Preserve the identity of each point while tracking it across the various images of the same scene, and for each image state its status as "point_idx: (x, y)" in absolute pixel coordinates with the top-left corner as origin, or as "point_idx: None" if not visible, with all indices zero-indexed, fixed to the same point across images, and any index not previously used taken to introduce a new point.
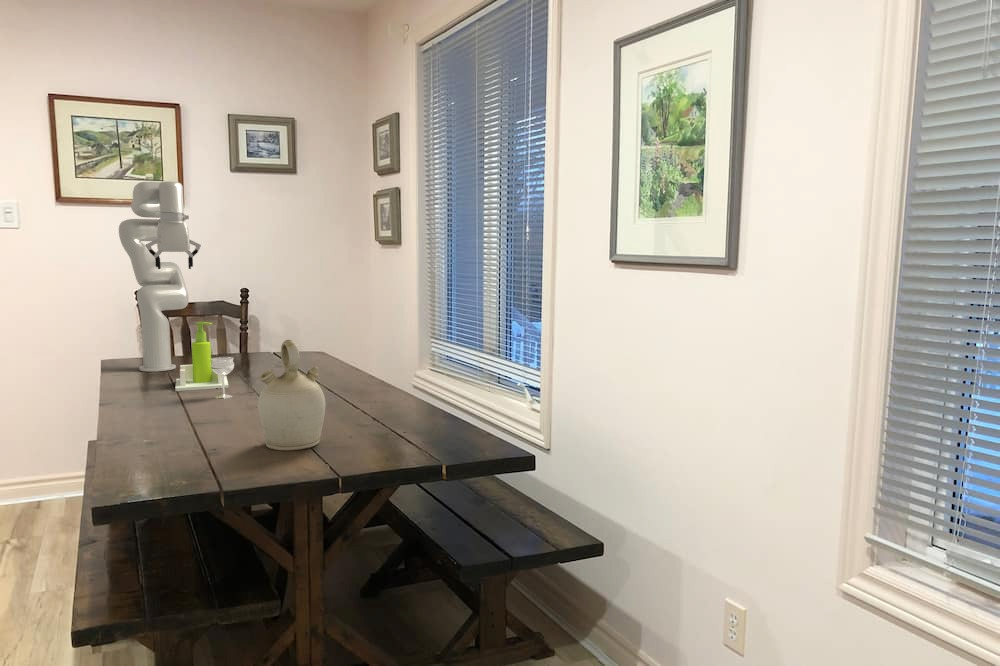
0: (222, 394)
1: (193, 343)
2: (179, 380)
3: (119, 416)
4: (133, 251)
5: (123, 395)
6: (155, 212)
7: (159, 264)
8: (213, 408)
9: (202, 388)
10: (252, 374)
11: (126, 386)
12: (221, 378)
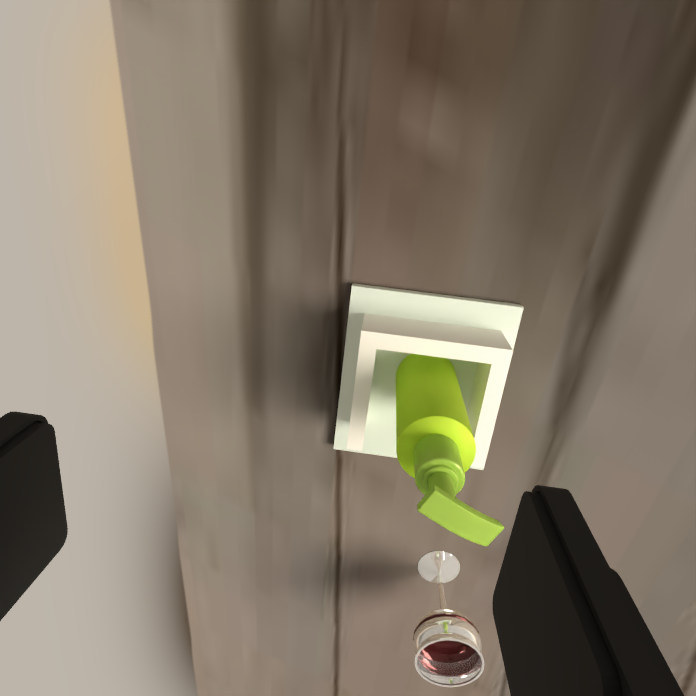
0: (436, 572)
1: (401, 462)
2: (358, 325)
3: (211, 635)
4: None
5: (201, 434)
6: None
7: (8, 598)
8: (391, 655)
9: None
10: (640, 254)
11: (197, 295)
12: None
